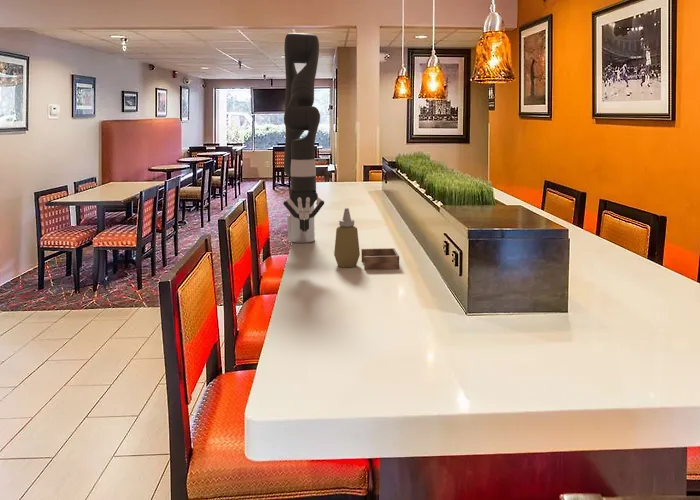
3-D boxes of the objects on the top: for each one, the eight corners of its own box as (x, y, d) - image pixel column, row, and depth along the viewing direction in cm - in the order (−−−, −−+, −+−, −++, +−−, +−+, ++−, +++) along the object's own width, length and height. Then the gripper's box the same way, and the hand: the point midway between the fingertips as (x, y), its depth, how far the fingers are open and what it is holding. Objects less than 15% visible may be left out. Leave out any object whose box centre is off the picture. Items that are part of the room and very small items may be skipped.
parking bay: (364, 269, 181) (364, 256, 180) (361, 260, 192) (361, 248, 191) (399, 268, 181) (399, 256, 180) (394, 260, 192) (394, 248, 191)
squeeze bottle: (343, 261, 191) (343, 205, 187) (365, 264, 187) (365, 207, 183) (328, 266, 185) (328, 209, 181) (350, 270, 180) (350, 211, 176)
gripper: (280, 175, 175) (282, 233, 178) (325, 175, 175) (326, 233, 179) (281, 173, 182) (283, 229, 186) (325, 173, 183) (325, 228, 187)
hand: (304, 231), depth 182 cm, fingers closed
